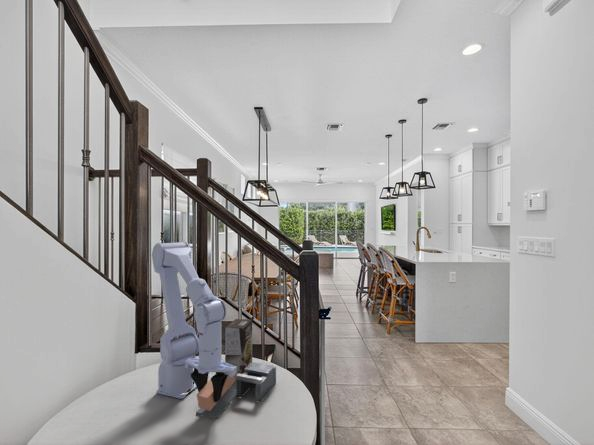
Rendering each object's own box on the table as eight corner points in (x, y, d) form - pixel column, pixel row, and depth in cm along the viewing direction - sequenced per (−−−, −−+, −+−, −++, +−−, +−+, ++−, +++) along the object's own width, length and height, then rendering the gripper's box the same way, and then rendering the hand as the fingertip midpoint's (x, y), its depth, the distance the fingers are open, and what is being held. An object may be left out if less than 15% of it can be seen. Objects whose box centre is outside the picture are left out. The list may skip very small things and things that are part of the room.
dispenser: (236, 397, 86) (236, 375, 85) (253, 377, 96) (253, 358, 96) (260, 402, 83) (260, 380, 83) (276, 382, 94) (276, 362, 93)
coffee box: (243, 379, 95) (243, 328, 95) (224, 376, 97) (224, 327, 97) (253, 365, 104) (253, 319, 104) (235, 363, 106) (235, 318, 105)
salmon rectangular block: (199, 407, 78) (196, 394, 77) (225, 377, 87) (222, 365, 86) (209, 411, 76) (207, 398, 75) (235, 380, 86) (232, 368, 85)
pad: (196, 414, 78) (196, 412, 78) (221, 389, 89) (221, 387, 89) (215, 419, 76) (215, 416, 76) (239, 393, 87) (239, 391, 87)
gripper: (177, 349, 77) (177, 401, 77) (226, 357, 73) (226, 413, 73) (194, 339, 84) (194, 387, 84) (240, 345, 79) (240, 397, 79)
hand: (210, 398), depth 79 cm, fingers closed on salmon rectangular block, 4 cm apart
